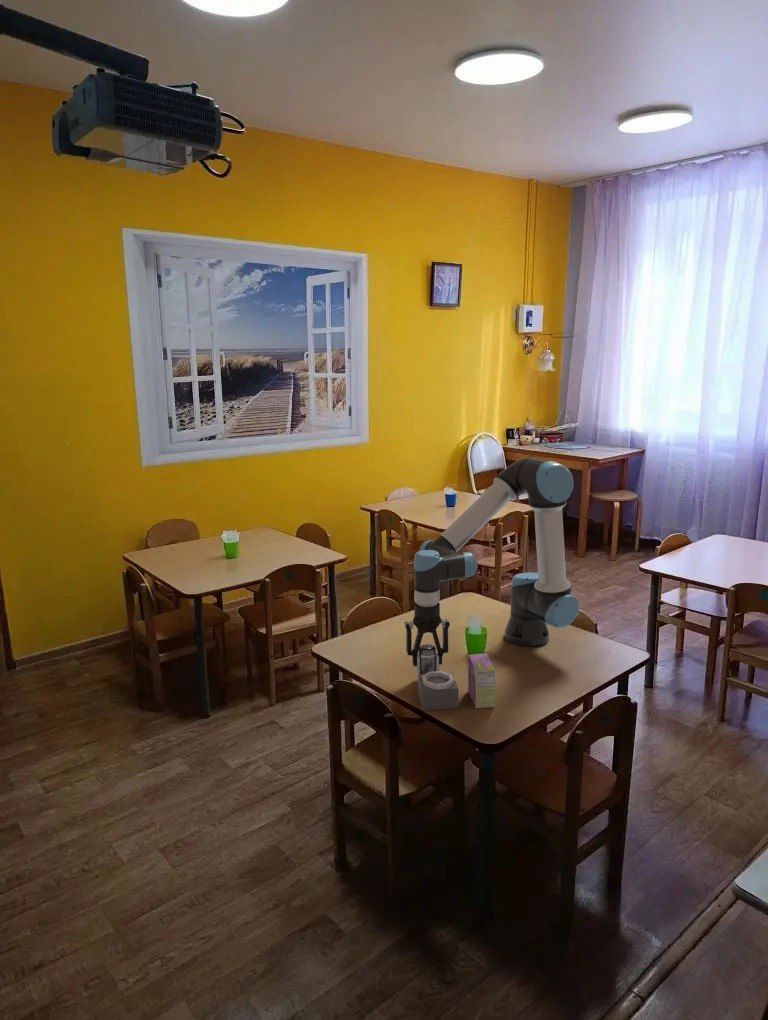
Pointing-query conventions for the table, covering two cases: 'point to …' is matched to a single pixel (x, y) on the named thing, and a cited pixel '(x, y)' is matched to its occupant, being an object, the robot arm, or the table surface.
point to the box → (481, 680)
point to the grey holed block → (437, 691)
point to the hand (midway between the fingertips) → (427, 674)
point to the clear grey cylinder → (427, 658)
